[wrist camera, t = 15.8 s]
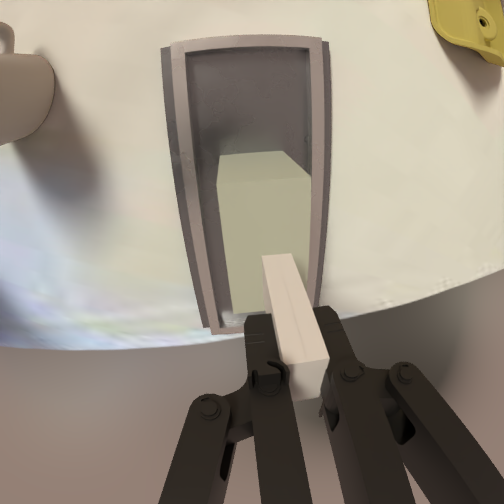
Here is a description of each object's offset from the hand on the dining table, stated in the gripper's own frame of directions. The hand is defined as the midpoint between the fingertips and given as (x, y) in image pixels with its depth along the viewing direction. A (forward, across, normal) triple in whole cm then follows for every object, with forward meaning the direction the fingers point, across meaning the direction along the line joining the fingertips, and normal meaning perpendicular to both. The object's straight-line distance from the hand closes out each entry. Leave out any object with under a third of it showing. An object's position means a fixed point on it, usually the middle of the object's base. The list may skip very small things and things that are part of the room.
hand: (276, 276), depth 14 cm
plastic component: (+12, +25, +27) cm, 38 cm away
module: (+10, 0, 0) cm, 10 cm away
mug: (+11, -21, +16) cm, 29 cm away
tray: (+11, 0, 0) cm, 11 cm away
